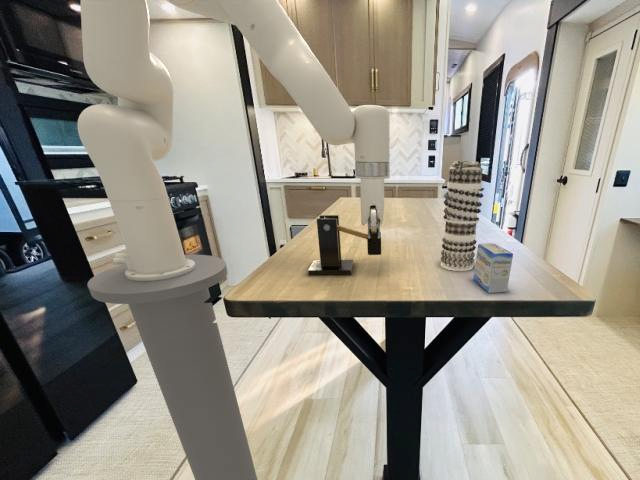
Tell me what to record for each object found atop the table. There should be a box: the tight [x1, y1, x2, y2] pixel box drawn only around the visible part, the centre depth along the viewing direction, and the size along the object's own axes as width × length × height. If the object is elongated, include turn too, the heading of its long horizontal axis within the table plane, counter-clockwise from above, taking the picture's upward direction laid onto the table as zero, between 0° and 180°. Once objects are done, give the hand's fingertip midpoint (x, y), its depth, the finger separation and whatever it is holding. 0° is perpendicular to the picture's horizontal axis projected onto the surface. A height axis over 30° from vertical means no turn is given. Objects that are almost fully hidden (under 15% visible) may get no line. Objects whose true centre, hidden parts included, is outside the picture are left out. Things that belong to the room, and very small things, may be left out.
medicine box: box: [472, 242, 514, 294], centre depth 69 cm, size 8×4×9 cm, turn 12°
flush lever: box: [324, 217, 371, 240], centre depth 76 cm, size 13×5×2 cm, turn 93°
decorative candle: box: [440, 160, 485, 272], centre depth 78 cm, size 9×9×25 cm
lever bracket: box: [307, 214, 354, 276], centre depth 77 cm, size 10×8×13 cm
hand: (374, 250), depth 78 cm, fingers closed on flush lever, 5 cm apart
